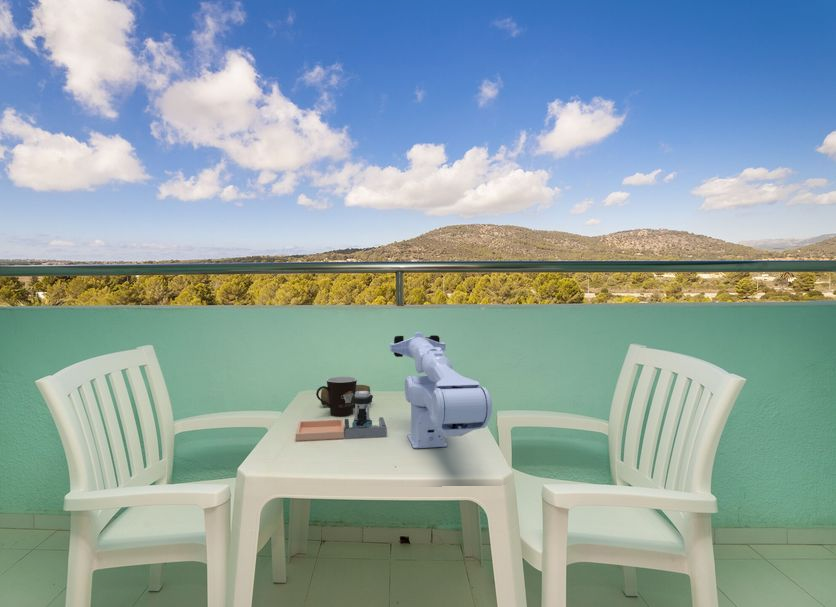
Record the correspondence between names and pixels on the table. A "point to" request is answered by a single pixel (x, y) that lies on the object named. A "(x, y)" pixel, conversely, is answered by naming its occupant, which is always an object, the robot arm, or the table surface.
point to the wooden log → (358, 388)
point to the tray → (320, 430)
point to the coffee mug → (340, 395)
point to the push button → (362, 409)
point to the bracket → (366, 430)
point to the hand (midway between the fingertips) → (412, 341)
